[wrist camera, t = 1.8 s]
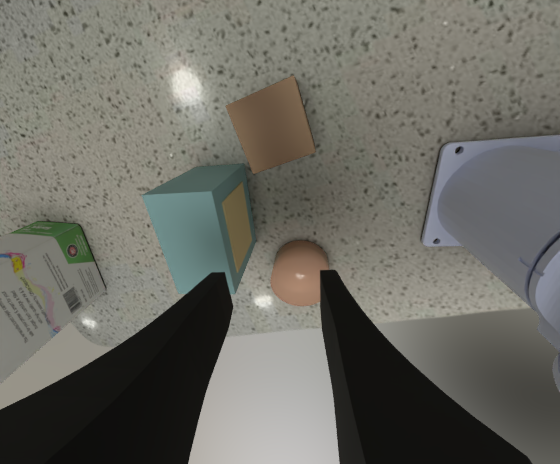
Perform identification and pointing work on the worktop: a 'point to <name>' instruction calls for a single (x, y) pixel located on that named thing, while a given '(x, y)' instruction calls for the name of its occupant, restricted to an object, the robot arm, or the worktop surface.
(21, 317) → the ink box
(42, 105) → the worktop surface
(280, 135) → the walnut cube
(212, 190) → the teal block
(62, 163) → the worktop surface
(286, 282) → the peach rounded dome
